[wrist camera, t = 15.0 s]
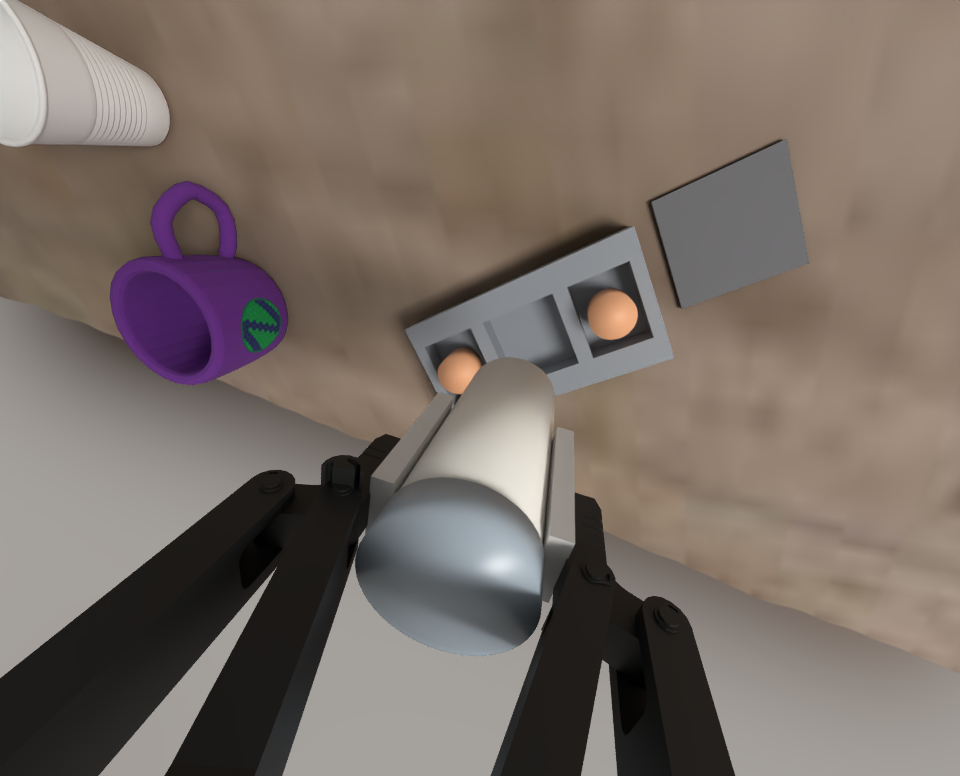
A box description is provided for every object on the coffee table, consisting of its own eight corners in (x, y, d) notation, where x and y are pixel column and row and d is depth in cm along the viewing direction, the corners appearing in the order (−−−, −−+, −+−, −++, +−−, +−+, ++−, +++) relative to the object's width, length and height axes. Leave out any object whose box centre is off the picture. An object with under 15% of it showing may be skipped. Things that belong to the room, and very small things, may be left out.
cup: (196, 178, 37) (59, 159, 27) (113, 158, 38) (-49, 132, 28) (183, 52, 32) (14, -27, 23) (89, 33, 34) (-111, -49, 24)
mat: (783, 140, 26) (786, 138, 26) (806, 262, 28) (809, 263, 28) (650, 202, 29) (651, 201, 29) (680, 307, 32) (682, 308, 31)
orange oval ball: (624, 280, 30) (629, 285, 27) (637, 321, 31) (643, 329, 28) (580, 298, 31) (581, 304, 29) (594, 336, 32) (597, 346, 30)
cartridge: (476, 344, 20) (361, 488, 9) (569, 370, 20) (568, 557, 8) (459, 423, 23) (350, 616, 11) (542, 448, 22) (513, 678, 11)
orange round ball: (473, 341, 35) (465, 350, 32) (489, 375, 36) (482, 386, 33) (441, 354, 36) (431, 364, 33) (457, 386, 37) (448, 398, 34)
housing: (628, 226, 30) (634, 226, 27) (665, 347, 33) (674, 358, 30) (416, 322, 37) (404, 329, 35) (462, 415, 40) (455, 428, 38)
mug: (300, 364, 43) (227, 400, 34) (215, 343, 44) (124, 371, 35) (292, 197, 35) (197, 186, 26) (190, 179, 37) (68, 162, 28)
